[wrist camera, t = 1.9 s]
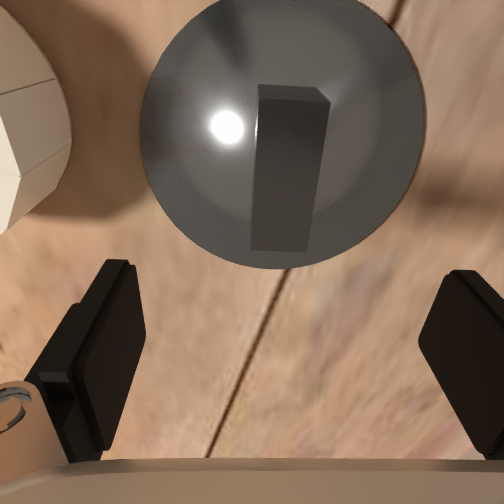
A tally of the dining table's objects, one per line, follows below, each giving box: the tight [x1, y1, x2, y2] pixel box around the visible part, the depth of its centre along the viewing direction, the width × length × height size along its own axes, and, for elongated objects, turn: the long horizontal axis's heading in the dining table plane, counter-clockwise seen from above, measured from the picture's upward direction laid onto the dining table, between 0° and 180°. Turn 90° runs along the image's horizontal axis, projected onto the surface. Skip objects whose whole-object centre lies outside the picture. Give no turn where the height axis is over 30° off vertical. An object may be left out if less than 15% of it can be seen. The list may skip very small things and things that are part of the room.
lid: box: [140, 0, 424, 269], centre depth 20 cm, size 17×17×5 cm
